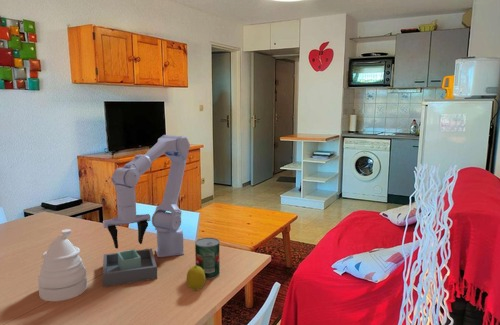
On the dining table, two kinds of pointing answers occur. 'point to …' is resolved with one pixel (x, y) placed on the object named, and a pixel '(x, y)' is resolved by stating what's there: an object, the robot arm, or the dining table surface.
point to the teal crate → (129, 260)
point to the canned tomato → (208, 256)
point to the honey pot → (62, 271)
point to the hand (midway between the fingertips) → (128, 245)
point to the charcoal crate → (117, 276)
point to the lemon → (196, 278)
